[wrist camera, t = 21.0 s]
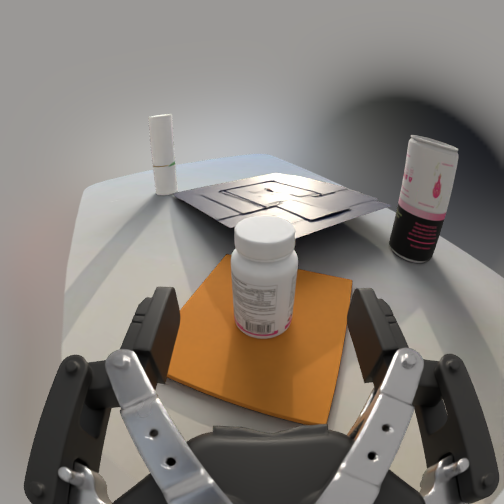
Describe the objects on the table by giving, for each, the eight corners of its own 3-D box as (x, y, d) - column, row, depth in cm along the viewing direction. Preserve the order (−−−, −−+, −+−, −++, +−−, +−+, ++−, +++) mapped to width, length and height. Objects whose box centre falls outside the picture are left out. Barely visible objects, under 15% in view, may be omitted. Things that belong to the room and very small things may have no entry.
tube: (160, 197, 49) (152, 117, 41) (153, 191, 51) (146, 117, 44) (180, 191, 51) (175, 114, 43) (173, 186, 54) (167, 114, 46)
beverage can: (430, 246, 34) (454, 146, 26) (431, 270, 29) (464, 153, 21) (390, 234, 36) (409, 133, 29) (386, 255, 32) (410, 136, 24)
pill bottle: (266, 292, 25) (269, 207, 21) (303, 321, 22) (317, 230, 18) (222, 315, 23) (215, 224, 18) (258, 350, 20) (260, 255, 15)
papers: (264, 275, 26) (262, 240, 25) (172, 208, 50) (169, 189, 48) (396, 221, 37) (398, 197, 36) (277, 184, 61) (277, 168, 59)
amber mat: (324, 428, 14) (326, 425, 14) (141, 364, 19) (139, 360, 18) (351, 284, 27) (352, 279, 27) (226, 258, 31) (226, 253, 31)
